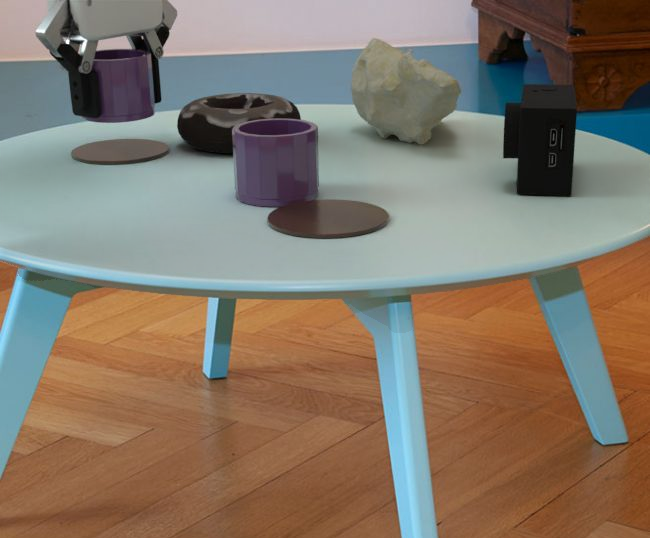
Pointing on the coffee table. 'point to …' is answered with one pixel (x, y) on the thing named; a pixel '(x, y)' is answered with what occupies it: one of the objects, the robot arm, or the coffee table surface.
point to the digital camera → (542, 138)
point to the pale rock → (401, 92)
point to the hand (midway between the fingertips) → (118, 107)
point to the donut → (228, 117)
